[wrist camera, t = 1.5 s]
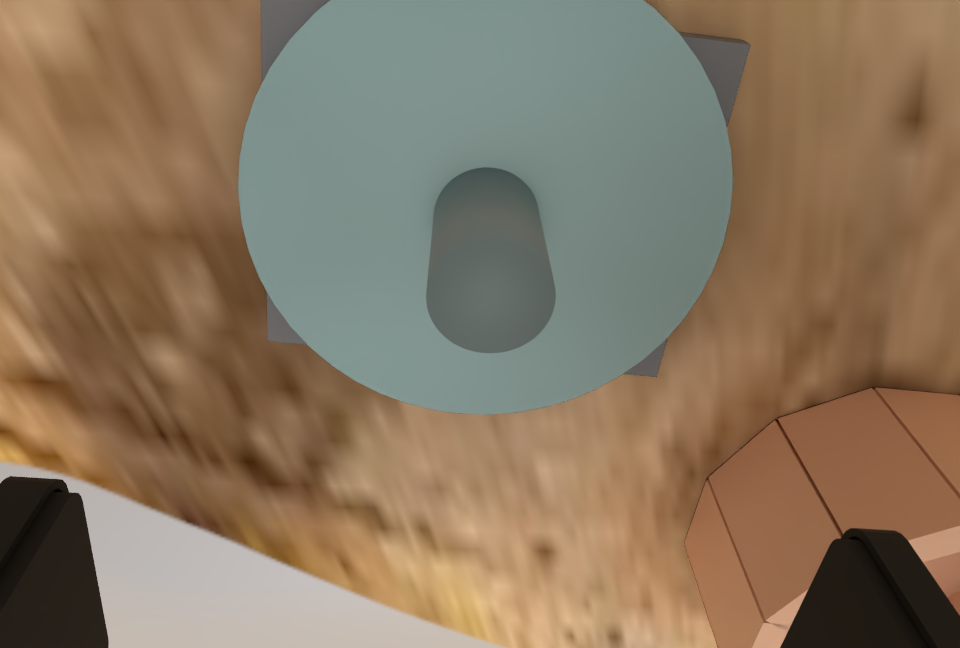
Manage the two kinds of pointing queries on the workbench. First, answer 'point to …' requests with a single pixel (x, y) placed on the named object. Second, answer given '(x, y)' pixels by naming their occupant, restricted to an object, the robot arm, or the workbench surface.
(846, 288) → the workbench surface
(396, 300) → the lid
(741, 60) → the mat
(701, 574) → the bowl
